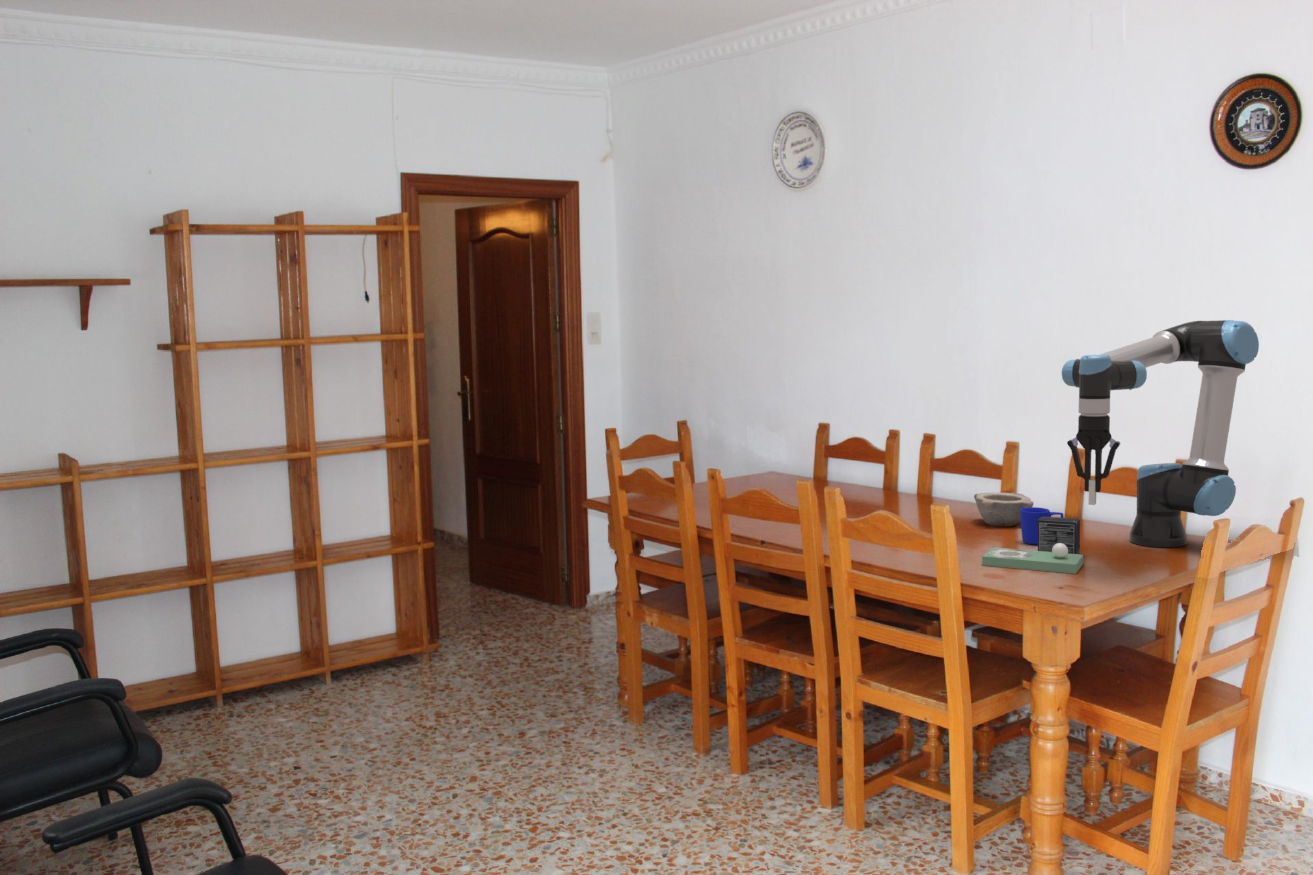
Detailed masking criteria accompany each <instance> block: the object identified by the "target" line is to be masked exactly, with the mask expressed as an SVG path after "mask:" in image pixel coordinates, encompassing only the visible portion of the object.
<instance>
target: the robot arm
mask: <svg viewBox="0 0 1313 875" xmlns="http://www.w3.org/2000/svg"><path fill="white" fill-rule="evenodd" d="M1259 344H1260V343H1259V336H1258V334H1257V332H1256V330H1255V329H1254V327H1253V326H1252V325H1251V324H1250V323H1248V322H1247V321H1243V320H1234V319H1233V320H1231V319H1228V320H1225V319H1224V320H1194V321H1189V322H1185V323H1182V324H1178V325H1175V326H1173V327H1172V326H1171V327H1170V328H1169V327H1168V328H1166V329H1163V330H1160V331H1157V332H1155V334H1153V335H1152V337H1150V338H1146V339H1144V340H1141V341H1137V342H1134V343H1131V344H1128V345H1125V346H1122V347H1119V348H1116V349H1113V350H1112V349H1111V350H1110V351H1106V352H1104V353H1101V354H1088V355H1087V354H1086V355H1082V356H1081V357H1080V358H1076V359H1069V360H1067V361H1066V362H1065V363H1064V364H1063V366H1062V368H1061V378H1062V381H1063V382H1064V384H1066V385H1067V386H1068V387H1069V386H1070V387H1075V388H1077V389H1078V388H1079V389H1078V413H1079V414H1080V415H1078V427H1077V428H1078V429H1077V433H1076V435H1075V437H1074V438H1072V439H1069V440H1068V441H1066V442H1067V445H1068V447H1069V449H1070V452H1071V454H1072V459H1073V462H1074V467H1075V472H1076V476H1077V477H1079V478H1082V479H1083V480H1084V492H1087V493H1088V506H1089V505H1090V506H1096V504H1097V493H1100V492H1101V491H1102V490H1101V489H1102V480H1104V479H1107V478H1108V477H1109V476H1110V473H1111V468H1112V465H1113V462H1114V458H1115V455H1116V451H1117V449H1118V448H1119V447H1120V446H1121V442H1120V441H1117V440H1116V439H1114V438H1112V434H1111V432H1110V425H1111V424H1110V423H1111V421H1110V420H1111V416H1110V415H1108V414H1110V412H1111V391H1120V390H1124V391H1125V390H1129V391H1131V390H1133V389H1139V388H1141V387H1143V385H1144V384H1145V383H1146V380H1147V374H1148V373H1147V368H1149V367H1152V366H1155V365H1158V364H1172V363H1176V362H1196V363H1198V364H1197V368H1198V369H1199V370H1200V371H1201V373H1202V377H1201V383H1200V390H1199V395H1198V401H1197V409H1196V414H1195V415H1196V416H1195V421H1194V427H1193V434H1192V439H1191V447H1190V452H1189V453H1190V454H1189V457H1188V458H1187V459H1186V460H1185V461H1183V462H1182V463H1178V462H1171V463H1170V462H1168V463H1167V462H1166V463H1152V464H1145V465H1141V466H1140V467H1139V468H1138V469H1137V478H1136V516H1135V518H1134V521H1133V524H1132V526H1131V529H1130V532H1129V542H1130V543H1132V544H1135V545H1139V546H1144V547H1150V548H1178V547H1184V546H1186V545H1188V535H1187V533H1186V529H1185V526H1184V523H1183V520H1182V512H1185V513H1188V514H1189V513H1191V514H1196V515H1199V516H1209V517H1217V516H1220V515H1222V514H1224V513H1225V512H1226V511H1227V510H1228V509H1229V508H1230V507H1231V506H1232V504H1233V502H1234V500H1235V498H1236V493H1237V487H1236V486H1237V485H1235V481H1234V479H1233V478H1232V477H1230V476H1229V472H1230V469H1229V467H1228V466H1227V465H1226V464H1225V459H1226V458H1225V457H1226V451H1227V445H1228V438H1229V432H1230V427H1231V425H1230V424H1231V420H1232V414H1233V407H1234V400H1235V393H1236V389H1237V384H1238V383H1237V382H1238V377H1239V376H1240V375H1242V374H1244V372H1246V365H1247V364H1251V363H1252V362H1254V360H1255V358H1257V356H1258V353H1259V346H1260V345H1259ZM1079 444H1080V445H1081V447H1082V448H1083V449H1084V469H1083V465H1082V461H1081V460H1082V459H1081V458H1080V453H1079V449H1078V445H1079ZM1107 444H1109V445H1108V446H1109V447H1110V449H1109V451H1108V454H1107V459H1106V462H1105V466H1104V469H1102V465H1103V464H1102V461H1103V458H1102V457H1103V449H1104V448H1105V447H1106V446H1107ZM1092 451H1094V454H1095V459H1094V460H1095V462H1094V468H1095V469H1094V478H1091V477H1092V474H1091V473H1092ZM1102 470H1103V473H1102Z"/></svg>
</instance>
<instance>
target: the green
mask: <svg viewBox="0 0 1313 875" xmlns="http://www.w3.org/2000/svg"><path fill="white" fill-rule="evenodd" d="M981 556H982V557H981V558H982V561H981V566H984V567H985V566H986V567H987V566H988V567H997V568H1006V569H1007V568H1008V569H1018V570H1019V569H1020V570H1031V571H1041V572H1048V573H1049V572H1050V573H1051V572H1052V573H1062V574H1063V573H1064V574H1074V575H1077V573H1078V572H1079V570H1080V569H1081V568H1082V566H1083V565H1084V554H1081V553H1080V554H1067V555H1066V556H1065V557H1063V558H1057V557H1055V556H1054V555H1053V553H1052V552H1044V551H1038V550H1030V549H1019V548H1005V547H996V546H995V547H991V548H990V549H989V550H988V551H987V552H986V553H984V554H983V555H981Z"/></svg>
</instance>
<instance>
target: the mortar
mask: <svg viewBox="0 0 1313 875" xmlns="http://www.w3.org/2000/svg"><path fill="white" fill-rule="evenodd" d="M973 497H974V498H973V499H974V500H975V503H976V506H977V507H976V508H977V509H978V510H977V511H978V512H979V514H980V517H981V518H982V519H983V521H984V522H985V523H986V524H987V525H988V526H993V527H1007V528H1008V527H1015V526H1017V525H1020V524H1021V515H1020V509H1022V508H1028V507H1034V503H1035V502H1034V501H1033V500H1031V498H1030V497H1028V496H1026V495H1024V493H1018V492H1017V493H1016V492H1015V493H1014V492H1012V493H1011V492H977V493H974V494H973Z"/></svg>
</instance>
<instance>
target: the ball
mask: <svg viewBox="0 0 1313 875" xmlns="http://www.w3.org/2000/svg"><path fill="white" fill-rule="evenodd" d="M1052 553H1053V555H1054V556H1055V557H1057V558H1063V557H1065V556H1066V555H1067V554H1068V548H1067V546H1066V545H1064V544H1062V543H1057V544H1055V545H1054V546H1053V548H1052Z"/></svg>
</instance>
